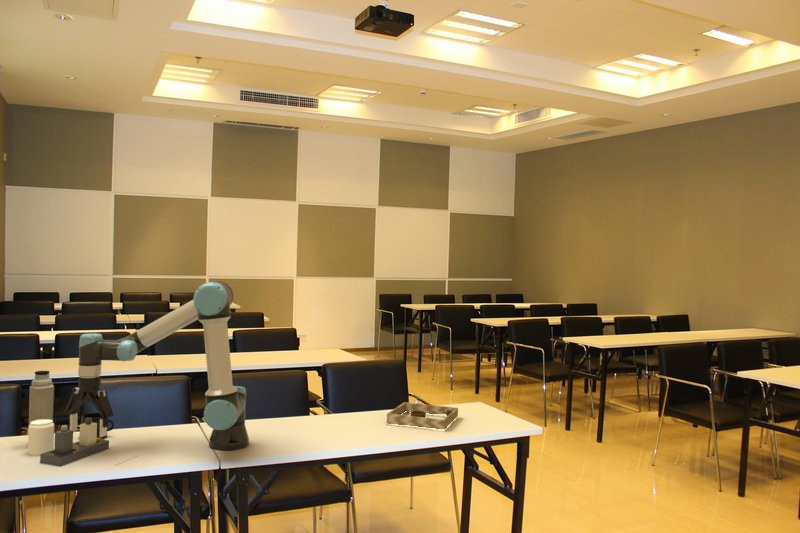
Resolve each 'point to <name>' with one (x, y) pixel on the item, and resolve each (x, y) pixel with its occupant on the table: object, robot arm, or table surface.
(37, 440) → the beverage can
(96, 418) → the mug
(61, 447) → the twin plug
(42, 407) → the thermos bottle
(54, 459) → the strip
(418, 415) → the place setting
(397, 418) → the frame
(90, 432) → the plug
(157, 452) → the table surface
